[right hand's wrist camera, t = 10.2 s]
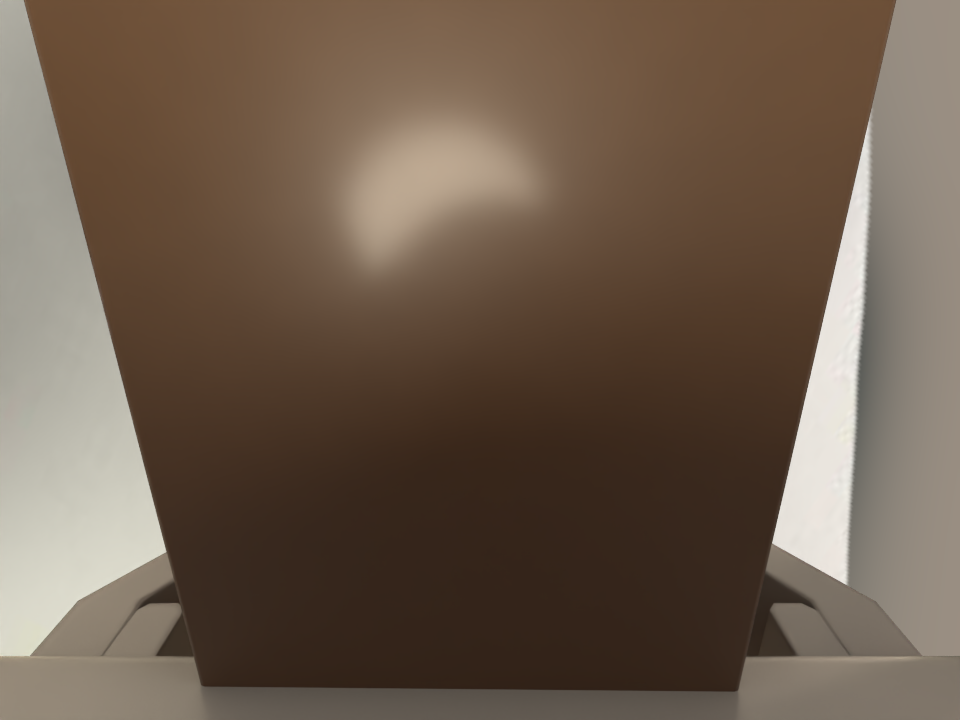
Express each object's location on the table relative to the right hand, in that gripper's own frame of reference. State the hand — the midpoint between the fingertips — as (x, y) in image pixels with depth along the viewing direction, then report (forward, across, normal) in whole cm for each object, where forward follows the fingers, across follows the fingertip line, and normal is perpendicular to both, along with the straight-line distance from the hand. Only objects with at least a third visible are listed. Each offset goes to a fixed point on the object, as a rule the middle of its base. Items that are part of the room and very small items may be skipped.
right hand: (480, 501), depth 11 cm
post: (+3, 0, -26) cm, 26 cm away
